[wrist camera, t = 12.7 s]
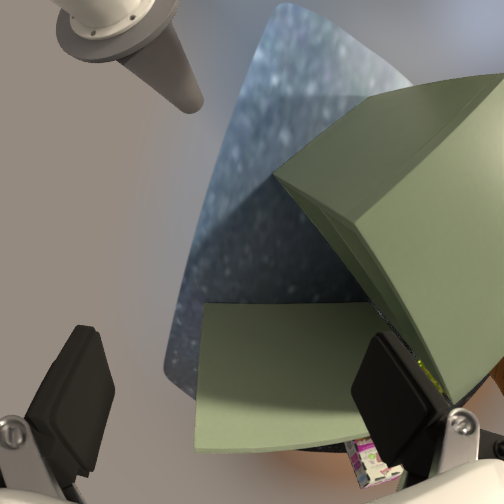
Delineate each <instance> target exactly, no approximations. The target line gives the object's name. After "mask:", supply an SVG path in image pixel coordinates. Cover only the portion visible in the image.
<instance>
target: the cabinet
mask: <svg viewBox="0 0 504 504" xmlns="http://www.w3.org/2000/svg"><path fill="white" fill-rule="evenodd" d="M273 175H274V177H275V178H276V179H277V180H278V181H279V182H280V184H281V185H282V186H283V187H284V188H285V190H286V191H287V192H288V193H289V194H290V196H291V197H292V198H293V199H294V200H295V202H296V203H297V204H298V205H299V207H300V208H301V209H302V210H303V211H304V213H305V214H306V215H307V216H308V218H309V219H310V220H311V221H312V223H313V224H314V225H315V226H316V228H317V229H318V230H319V232H320V233H321V234H322V235H323V237H324V238H325V239H326V241H327V242H328V243H329V244H330V246H331V247H332V248H333V250H334V251H335V252H336V254H337V255H338V256H339V258H340V259H341V260H342V262H343V263H344V264H345V266H346V267H347V268H348V270H349V271H350V272H351V274H352V275H353V276H354V278H355V279H356V281H357V282H358V283H359V285H360V286H361V287H362V289H363V290H364V292H365V293H366V294H367V296H368V297H369V299H370V300H371V301H372V303H373V304H374V305H375V306H376V307H377V308H378V310H379V311H380V312H381V313H382V314H383V315H384V317H385V318H386V319H387V320H388V321H389V323H390V324H391V325H392V326H393V327H394V329H395V330H396V331H397V332H398V333H399V335H400V336H401V337H402V338H403V340H404V341H405V342H406V343H407V345H408V346H409V347H410V348H411V349H412V351H413V352H414V353H415V354H416V356H417V357H418V358H419V360H420V361H421V362H422V363H423V365H424V366H425V367H426V369H427V370H428V371H429V372H430V374H431V375H432V376H433V378H434V379H435V380H436V382H437V383H438V384H439V386H440V387H441V388H442V390H443V391H444V392H445V394H446V395H447V396H448V398H449V399H450V400H451V402H452V403H453V404H456V403H457V402H458V401H459V400H460V399H461V398H462V397H464V396H465V395H466V394H467V393H468V392H469V391H470V390H471V389H472V388H473V387H474V386H476V385H477V384H478V383H479V382H480V381H481V380H482V379H483V378H484V377H485V376H486V375H487V374H488V373H489V372H490V371H491V370H492V368H493V367H494V366H495V365H496V364H497V363H498V362H499V361H500V360H501V359H502V358H503V357H504V73H500V74H489V75H478V76H470V77H463V78H456V79H449V80H443V81H438V82H432V83H427V84H421V85H416V86H412V87H407V88H402V89H398V90H394V91H390V92H385V93H381V94H377V95H374V96H370V97H368V98H366V99H365V100H364V101H362V102H361V103H360V104H359V105H357V106H356V107H355V108H353V109H352V110H351V111H349V112H348V113H347V114H346V115H344V116H343V117H342V118H340V119H339V120H338V121H337V122H335V123H334V124H333V125H331V126H330V127H329V128H328V129H326V130H325V131H324V132H323V133H321V134H320V135H319V136H318V137H316V138H315V139H314V140H313V141H311V142H310V143H309V144H308V145H306V146H305V147H304V148H303V149H302V150H300V151H299V152H298V153H297V154H295V155H294V156H293V157H292V158H291V159H289V160H288V161H287V162H286V163H285V164H283V165H282V166H281V167H280V168H279V169H277V170H276V171H275V172H274V173H273Z"/></svg>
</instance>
